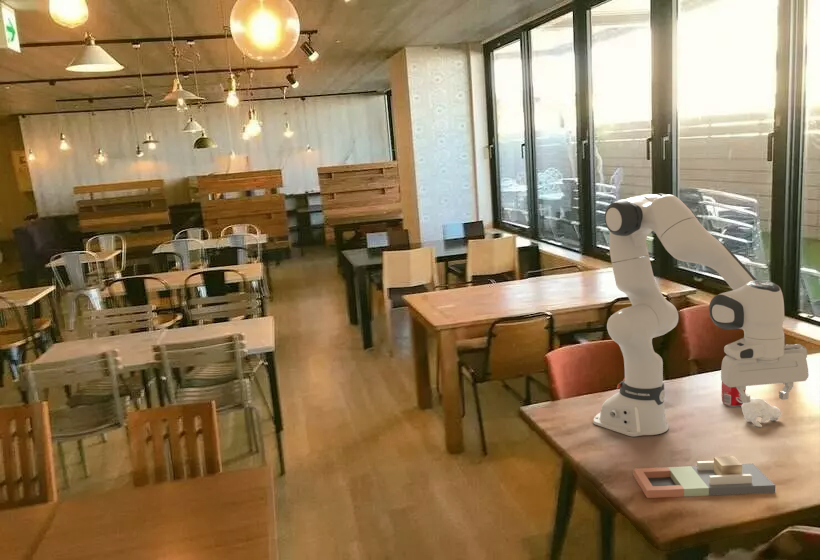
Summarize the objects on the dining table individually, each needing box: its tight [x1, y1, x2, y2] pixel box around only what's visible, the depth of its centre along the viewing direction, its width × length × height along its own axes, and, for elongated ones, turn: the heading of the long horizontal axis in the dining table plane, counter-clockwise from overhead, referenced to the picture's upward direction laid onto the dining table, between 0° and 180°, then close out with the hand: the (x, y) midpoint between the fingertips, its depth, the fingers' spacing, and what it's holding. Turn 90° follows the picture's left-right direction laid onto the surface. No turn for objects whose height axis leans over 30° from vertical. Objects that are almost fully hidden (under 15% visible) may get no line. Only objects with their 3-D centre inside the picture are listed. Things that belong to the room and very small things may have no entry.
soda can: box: [721, 381, 746, 408], centre depth 223 cm, size 7×7×12 cm
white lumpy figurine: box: [740, 396, 782, 428], centre depth 207 cm, size 6×8×12 cm
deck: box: [632, 463, 776, 499], centre depth 173 cm, size 31×12×2 cm, turn 88°
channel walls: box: [696, 460, 752, 485], centre depth 173 cm, size 10×9×2 cm
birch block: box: [713, 455, 743, 475], centre depth 172 cm, size 5×5×4 cm
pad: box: [667, 465, 710, 497], centre depth 173 cm, size 6×12×2 cm, turn 178°
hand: (764, 400), depth 169 cm, fingers open, 8 cm apart
